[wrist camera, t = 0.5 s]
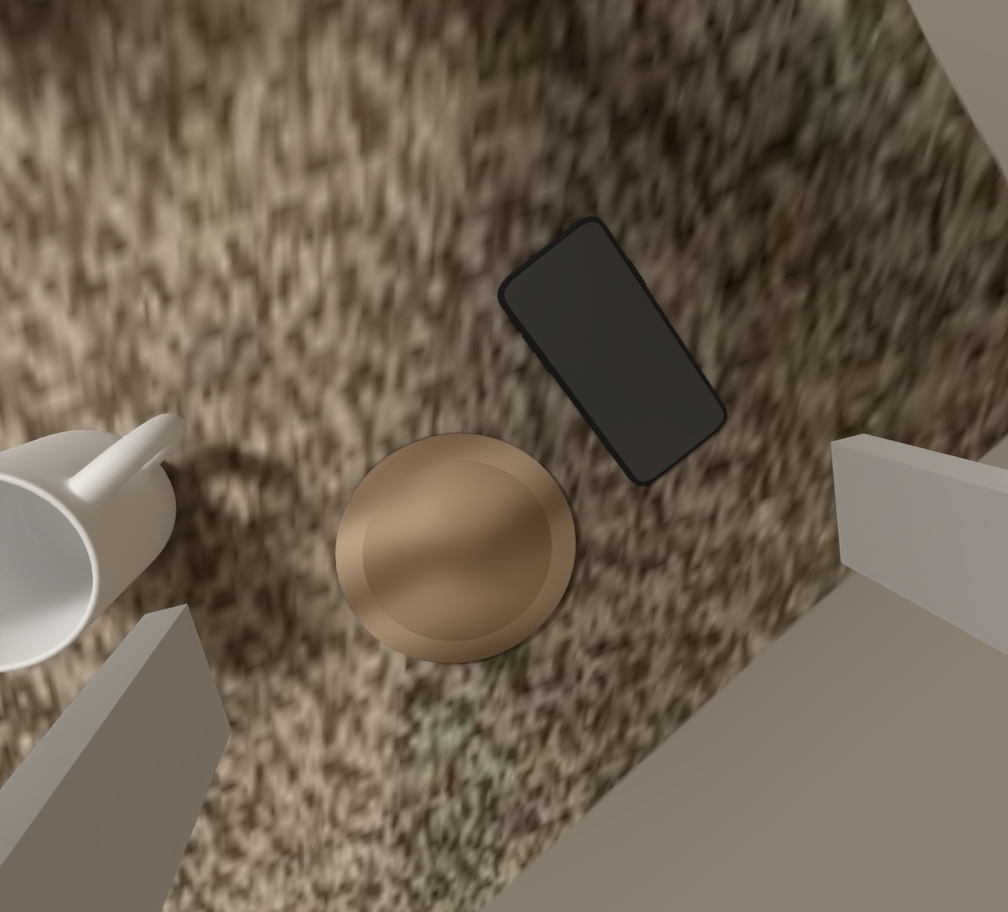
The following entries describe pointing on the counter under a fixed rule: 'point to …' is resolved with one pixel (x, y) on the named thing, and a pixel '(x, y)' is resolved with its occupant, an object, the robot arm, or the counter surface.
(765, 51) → the counter surface
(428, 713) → the counter surface
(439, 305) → the counter surface
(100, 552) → the mug
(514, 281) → the smartphone
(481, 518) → the coaster
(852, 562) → the robot arm
